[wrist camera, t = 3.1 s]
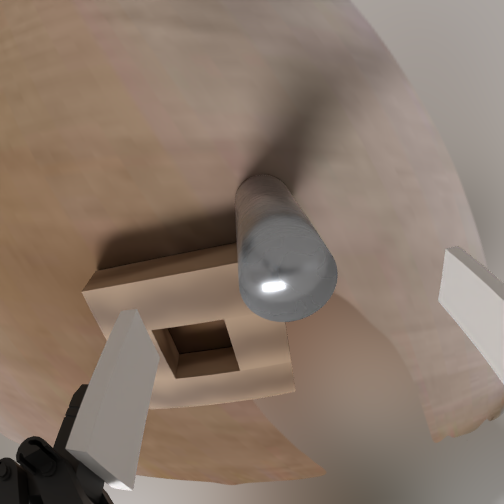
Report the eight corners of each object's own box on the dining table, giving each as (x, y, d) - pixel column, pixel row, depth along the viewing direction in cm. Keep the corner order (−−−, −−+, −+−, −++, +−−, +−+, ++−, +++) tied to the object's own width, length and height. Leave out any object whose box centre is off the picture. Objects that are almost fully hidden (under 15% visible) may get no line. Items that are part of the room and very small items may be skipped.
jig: (95, 271, 26) (81, 291, 23) (268, 236, 26) (274, 255, 22) (154, 386, 33) (150, 409, 30) (290, 367, 33) (295, 391, 30)
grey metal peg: (229, 180, 23) (229, 247, 13) (286, 170, 23) (334, 227, 13) (240, 232, 25) (249, 329, 15) (293, 222, 25) (338, 311, 14)
